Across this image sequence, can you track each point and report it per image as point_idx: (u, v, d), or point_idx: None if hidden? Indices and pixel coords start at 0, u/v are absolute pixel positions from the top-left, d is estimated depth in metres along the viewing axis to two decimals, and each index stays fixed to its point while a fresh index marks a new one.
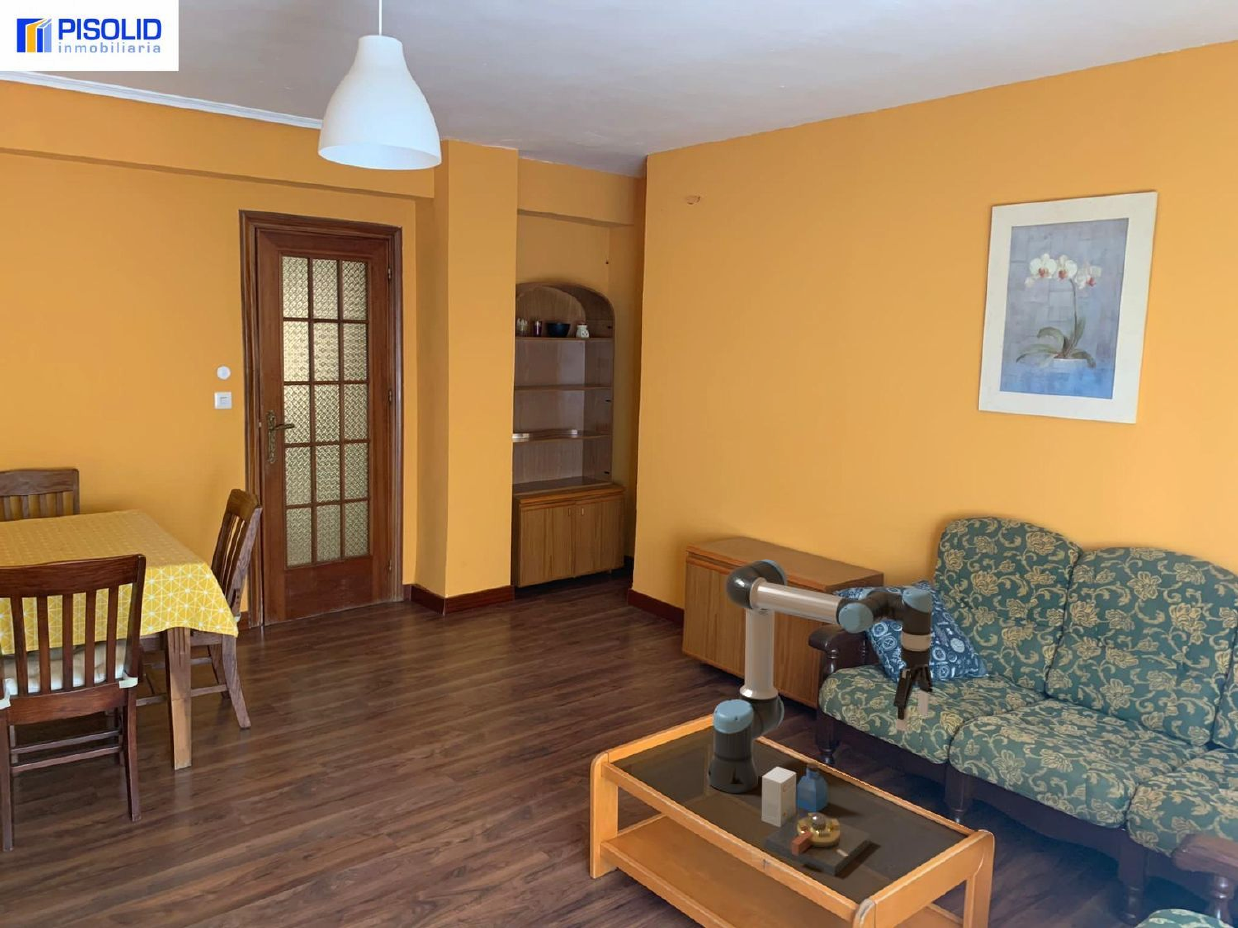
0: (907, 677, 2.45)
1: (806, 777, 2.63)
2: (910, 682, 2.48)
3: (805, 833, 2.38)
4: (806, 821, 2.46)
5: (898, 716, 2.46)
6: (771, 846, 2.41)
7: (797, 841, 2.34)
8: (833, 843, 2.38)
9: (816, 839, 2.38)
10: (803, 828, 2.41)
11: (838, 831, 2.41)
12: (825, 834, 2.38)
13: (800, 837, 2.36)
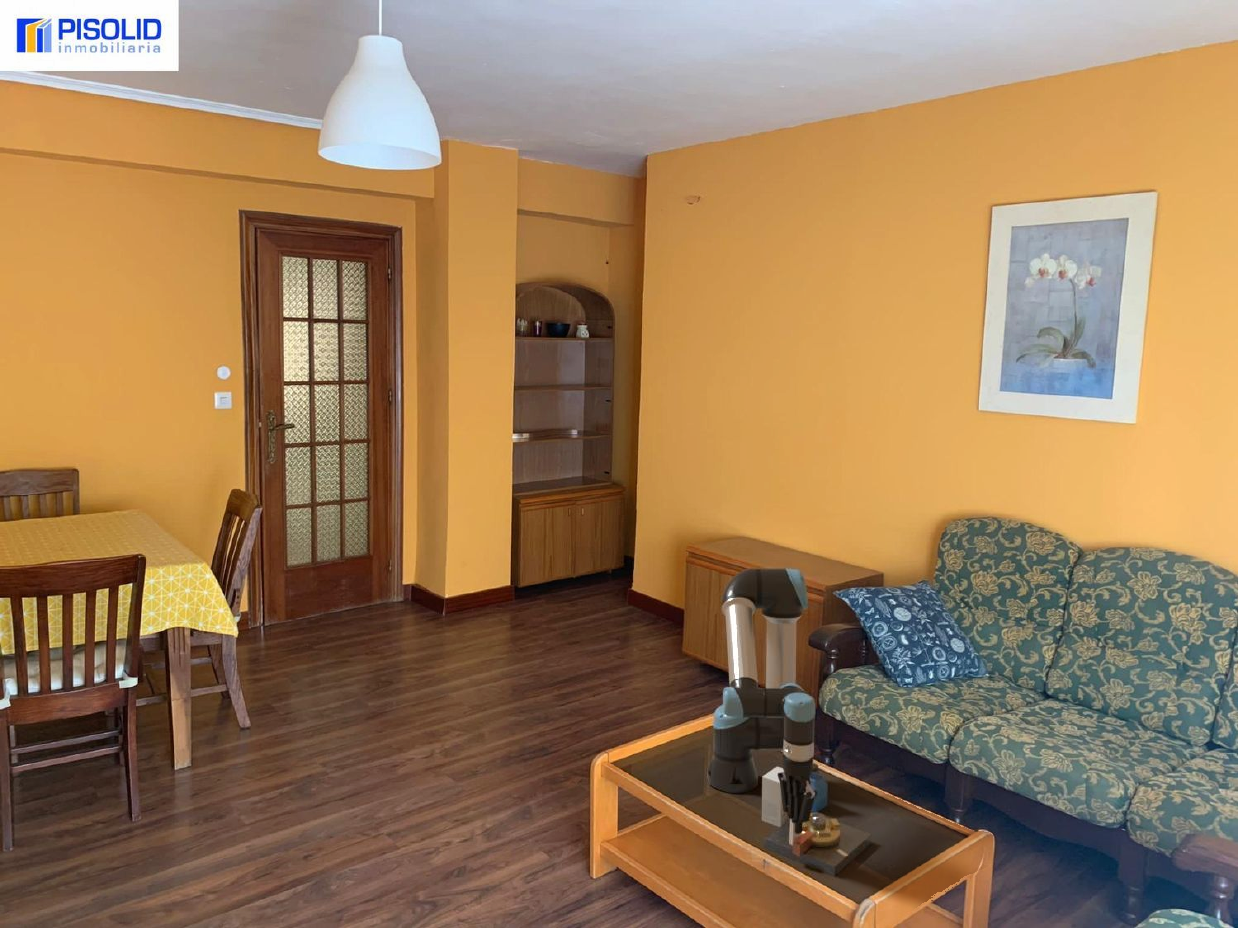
0: None
1: None
2: None
3: (806, 833, 2.38)
4: None
5: None
6: (771, 846, 2.41)
7: (799, 841, 2.34)
8: (833, 843, 2.38)
9: (817, 839, 2.38)
10: (803, 828, 2.41)
11: (838, 831, 2.41)
12: (826, 834, 2.38)
13: (801, 838, 2.36)
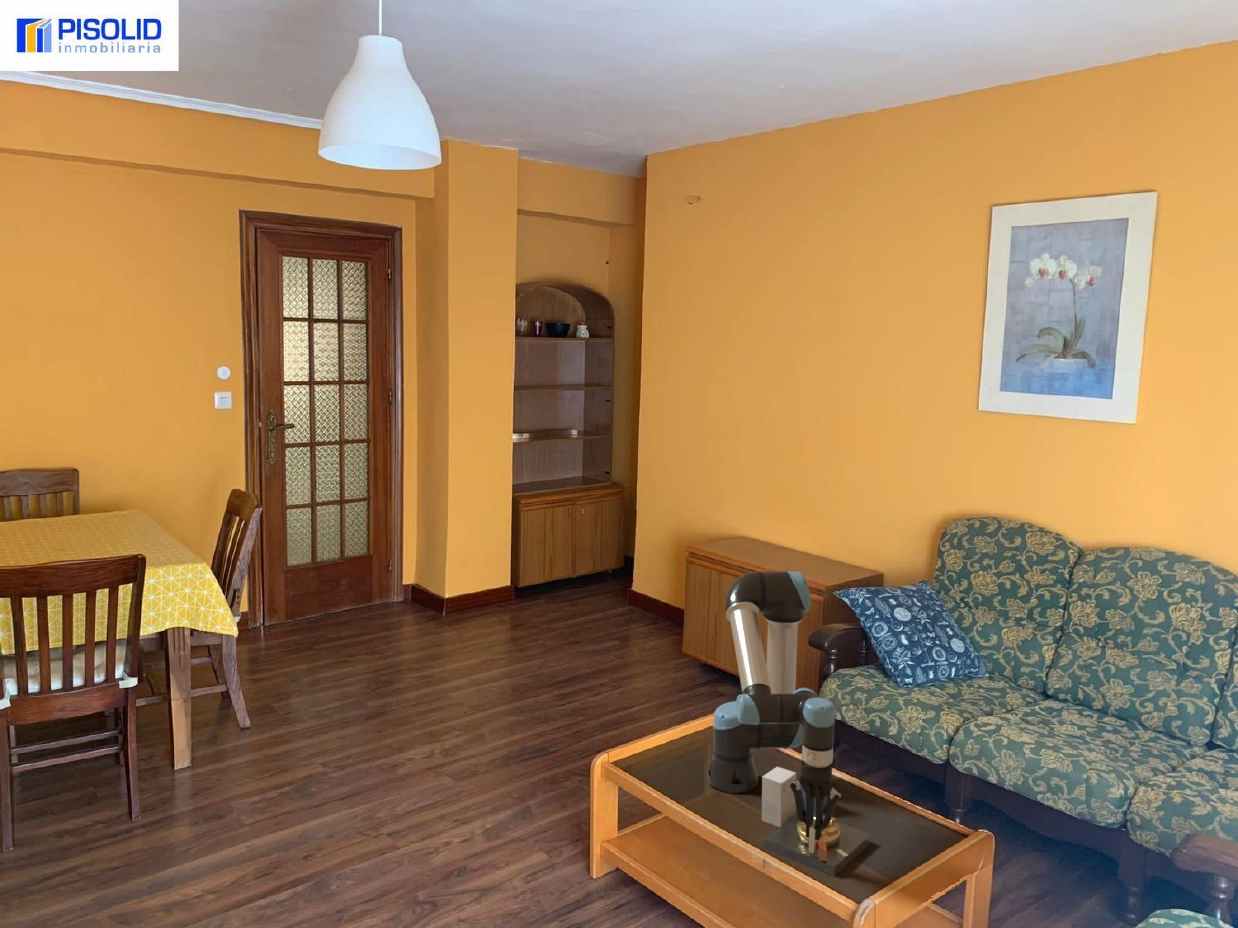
0: None
1: None
2: None
3: None
4: (803, 824, 2.44)
5: None
6: (771, 846, 2.41)
7: (822, 846, 2.32)
8: (839, 838, 2.41)
9: (829, 839, 2.38)
10: None
11: (837, 825, 2.43)
12: (835, 831, 2.39)
13: (821, 842, 2.34)
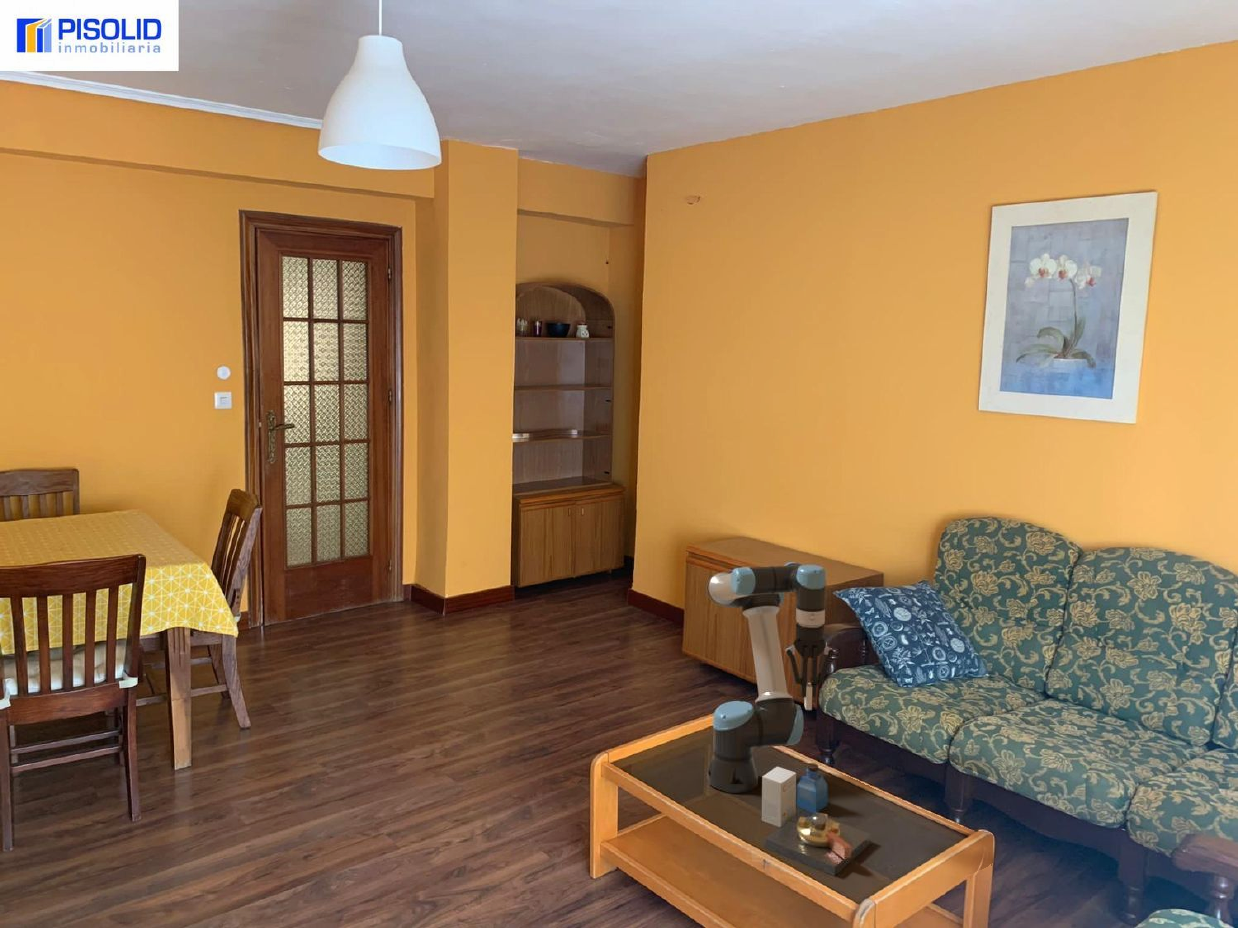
0: (789, 656, 2.49)
1: (806, 777, 2.63)
2: (802, 660, 2.49)
3: (832, 836, 2.37)
4: (804, 829, 2.42)
5: (801, 692, 2.51)
6: (771, 846, 2.41)
7: (845, 844, 2.33)
8: None
9: (837, 836, 2.39)
10: (822, 834, 2.38)
11: (830, 820, 2.46)
12: (838, 827, 2.41)
13: (839, 841, 2.35)
